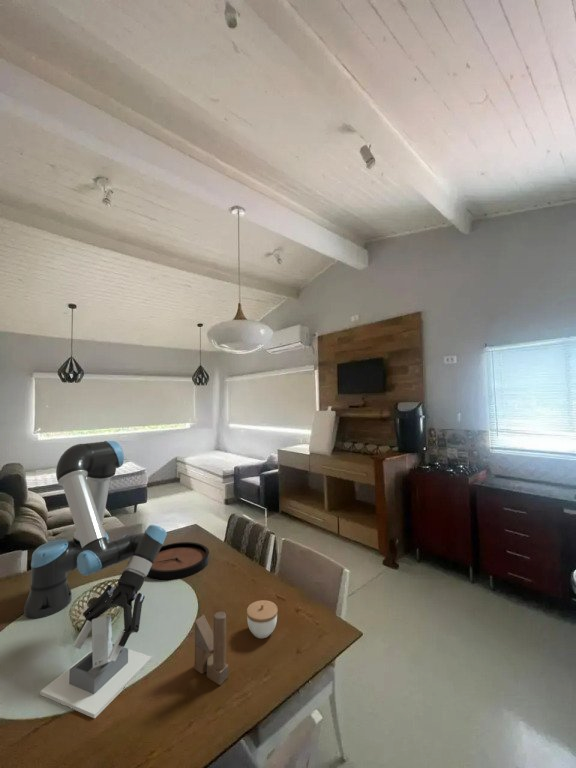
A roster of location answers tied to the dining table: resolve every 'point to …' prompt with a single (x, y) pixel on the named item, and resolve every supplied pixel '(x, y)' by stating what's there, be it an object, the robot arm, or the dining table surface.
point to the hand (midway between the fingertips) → (93, 653)
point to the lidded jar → (262, 618)
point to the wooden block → (211, 648)
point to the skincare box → (101, 640)
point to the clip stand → (95, 682)
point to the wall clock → (179, 561)
